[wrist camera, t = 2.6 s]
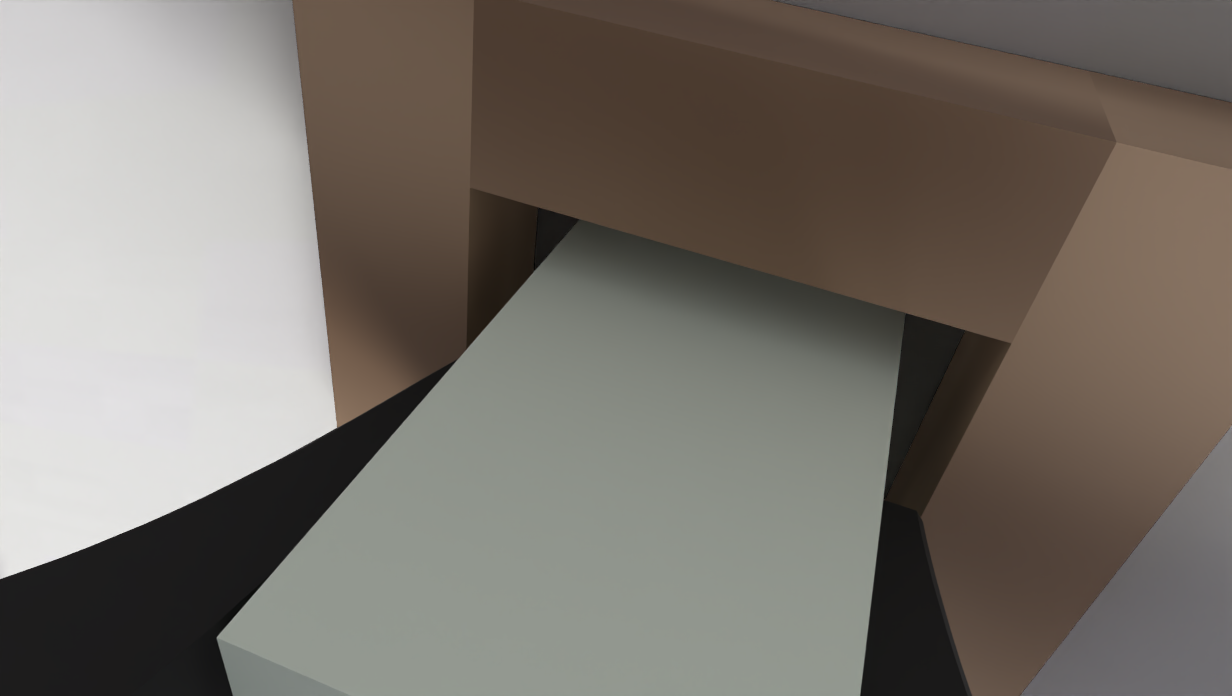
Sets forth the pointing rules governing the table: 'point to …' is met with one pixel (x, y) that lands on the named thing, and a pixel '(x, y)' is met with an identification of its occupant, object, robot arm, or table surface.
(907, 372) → the table surface
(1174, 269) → the frame
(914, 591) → the robot arm
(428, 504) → the part block
